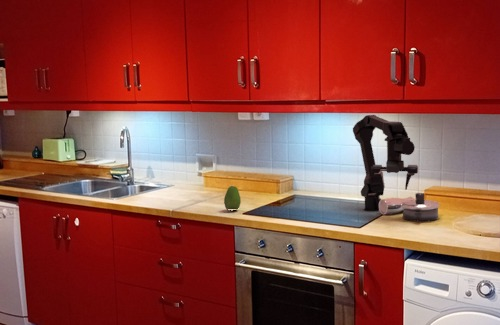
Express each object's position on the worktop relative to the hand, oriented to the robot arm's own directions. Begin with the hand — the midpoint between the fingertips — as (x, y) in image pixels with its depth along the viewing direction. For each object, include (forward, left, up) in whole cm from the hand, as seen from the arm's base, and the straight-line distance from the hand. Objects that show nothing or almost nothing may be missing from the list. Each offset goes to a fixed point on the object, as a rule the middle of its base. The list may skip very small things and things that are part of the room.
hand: (394, 189), depth 247 cm
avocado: (-75, +2, -12) cm, 76 cm away
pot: (+10, -2, -12) cm, 16 cm away
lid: (+10, -1, -7) cm, 12 cm away
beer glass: (+6, +14, -9) cm, 17 cm away
